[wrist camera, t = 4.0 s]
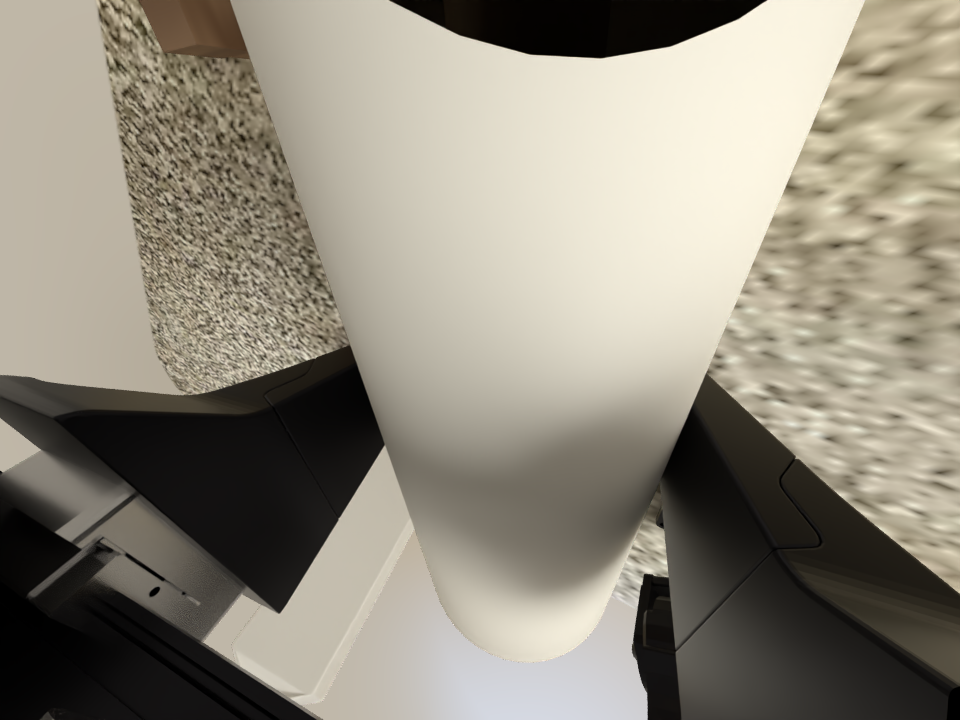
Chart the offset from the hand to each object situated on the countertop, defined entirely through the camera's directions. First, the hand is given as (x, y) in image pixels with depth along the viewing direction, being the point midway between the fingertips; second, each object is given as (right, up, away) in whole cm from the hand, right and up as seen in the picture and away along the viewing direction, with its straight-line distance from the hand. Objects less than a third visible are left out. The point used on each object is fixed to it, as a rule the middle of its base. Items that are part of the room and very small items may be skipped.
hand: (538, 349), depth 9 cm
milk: (-8, -10, +27) cm, 30 cm away
